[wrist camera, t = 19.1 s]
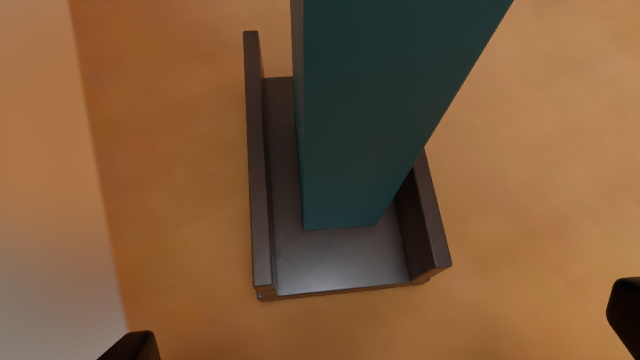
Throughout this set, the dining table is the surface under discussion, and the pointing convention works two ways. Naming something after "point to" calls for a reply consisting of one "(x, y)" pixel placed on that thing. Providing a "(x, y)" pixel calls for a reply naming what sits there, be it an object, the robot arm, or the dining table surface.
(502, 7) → the teal rectangular block
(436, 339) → the dining table surface
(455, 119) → the dining table surface
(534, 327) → the dining table surface
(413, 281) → the rack
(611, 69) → the dining table surface
